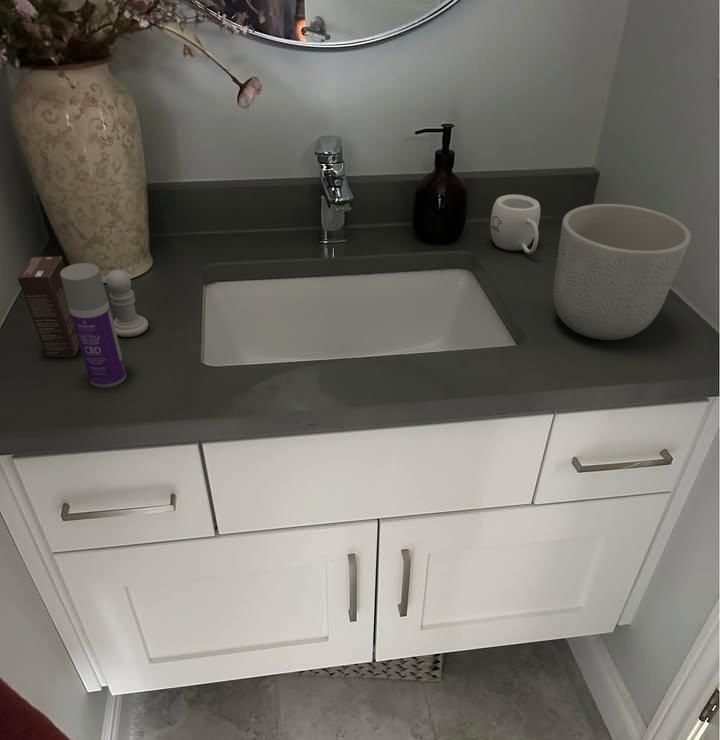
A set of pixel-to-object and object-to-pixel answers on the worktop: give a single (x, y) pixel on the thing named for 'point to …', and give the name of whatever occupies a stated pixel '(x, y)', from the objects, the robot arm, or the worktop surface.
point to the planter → (615, 268)
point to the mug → (515, 222)
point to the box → (49, 305)
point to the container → (93, 324)
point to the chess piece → (124, 305)
